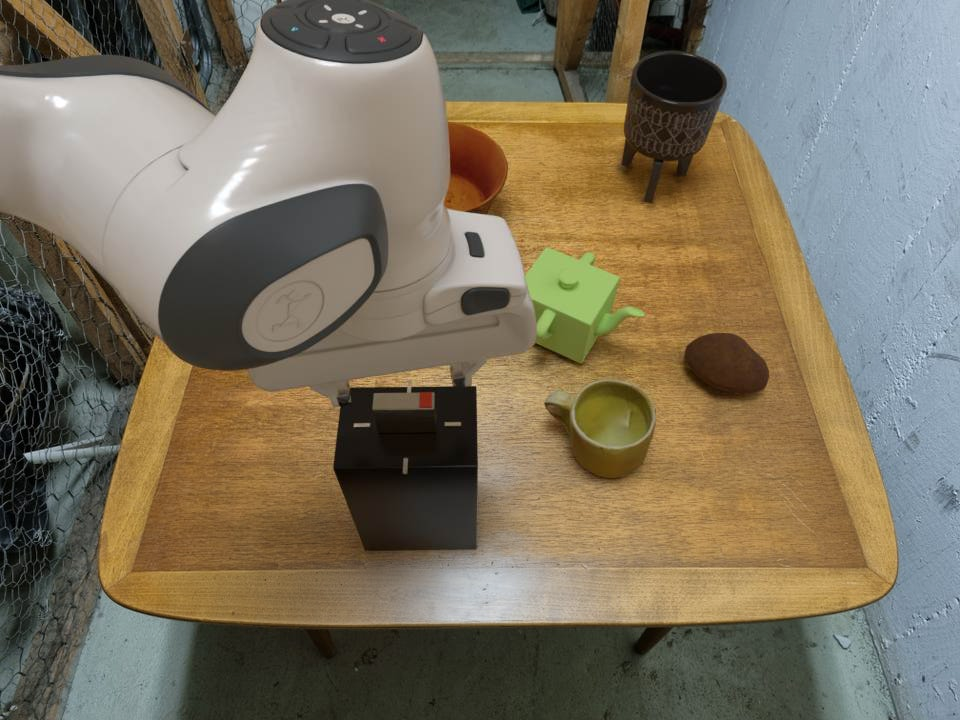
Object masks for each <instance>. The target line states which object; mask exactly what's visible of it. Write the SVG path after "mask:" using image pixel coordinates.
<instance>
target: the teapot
mask: <svg viewBox="0 0 960 720" xmlns="http://www.w3.org/2000/svg"><path fill="white" fill-rule="evenodd" d="M595 262H596V255H595V254H594V253H593V252H589V251H587V252H585V253H584V254H582V255H581V257H580V258H579V259H578V258H576V257H573V256H570V255H568V254H565V253H563V252H560V251H558V250H556V249H553V248H550V247H549V246H545V248H544V249H543V250H542V252H541V253H540V255H539V256H538V257H537V259H536V260H535V261H534V262H533V264H532V265H531V266H530V268H529V269H528V271H527V272H526V273H525V278H526V283H527V286H528V289H529V293H530V296H531V300H532V303H533V306H534V310H535V315H536V325H537V333H536V342H535V344H537V345H539V346H541V347H544V348H545V349H548V350H550V351H552V352H554V353H557V354H559V355H561V356H563V357H566V358H568V359H570V360H571V361H574V362H576V363H578V364H580V365H582V364H583V362H584V361H585V360H586V357H587V356H588V354H589V352H590V351H591V349H592V348H593V346H594V344H595V342H597V339H598V338H599V337H602V336H607V335H609V334H611V333H613V332H614V331H615V330H616V329H617V328H618V327H619V326H620V325H621V324H622V322H624V321H625V320H626V319H628V318H642V317H644V316H645V312H644V311H643V310H641V309H640V308H637V307H633V306H623V307H621V308H619V309H618V310H616V311H615V312H614V313H612V311H613V308H614V307H613V306H614V303H615V299H616V296H617V293H618V292H617V291H618V288H619V284H620V281H621V277H620V276H618V275H616V274H614V273H611V272H609V271H606V270H604V269H602V268H601V267H600V268H599V267H597V266H594V265H595Z"/></svg>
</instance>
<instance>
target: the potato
mask: <svg viewBox="0 0 960 720" xmlns="http://www.w3.org/2000/svg"><path fill="white" fill-rule="evenodd" d="M684 359H685V362H686V365H687V366H688V368H689V369H690V371H692V372H693V374H694V375H696V377H698V378H699V379H700V380H701V381H703V382H704V383H705V384H706V385H708V386H709V387H712V388H714V389H718V390H721V391H724V392H727V393H729V394H730V393H732V394H735V395H736V394H737V395H750V394H751V395H752V394H755V393H758V392H760V391H761V390H764V389H765V388H766V387H767V385H768V383H769V379H770V369H769V367H768V364H767V362H766V360H765V358H763V357H762V355H760V354H759V353H758V352H756V351H755V349H754V348H752V347H751V345H750V344H749V343H748V342H747V341H746V340H745V339H743V338H742V337H741V336H740V335H738V334H734V333H729V332H713V333H707V334H704V335H700V336H698V337H697V338H695V339H693V340H691V342H689V343H688V344H687V345H686V346H685V349H684Z"/></svg>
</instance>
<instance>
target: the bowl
mask: <svg viewBox="0 0 960 720" xmlns="http://www.w3.org/2000/svg"><path fill="white" fill-rule="evenodd" d="M448 131H449V147H450V183H449V188H448V191H447V195H446V197H445V200H444V203H445V206H446V208H447V209H451V210H457V211H462V212H469V213H476V214H484V215H489V211H490V208H491V204H492V202H493V200H494V199H495V198H496V197H497V196H498V195H499V194H500V193H501V191H502V190H503V188H504V186H505V184H506V181H507V178H508V172H509V162H508V159H507V157H506V155H505V152H504V150H503V149H502V147H501V146H500V145H499V144H498V143H497V142H496V141H495V140H494V139H493V138H491V137H490V136H489V135H488V134H486V132H485V133H484V132H483V131H482V130H479V129H476V128H474V127H472V126H469V125H466V124H462V123H458V122H453V121H448Z"/></svg>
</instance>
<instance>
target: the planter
mask: <svg viewBox="0 0 960 720" xmlns="http://www.w3.org/2000/svg"><path fill="white" fill-rule="evenodd" d="M727 87H728V80H727V76H726V74H725V73H724V71H723V70H722V69H721V68H720V67H719V66H718V65H717V64H715V63H714V62H712V61H711V60H709V59H708V58H706V57H703V56H700V55H698V54H694V53H690V52H685V51H677V50H671V51H670V50H669V51H667V50H666V51H659V52H654V53H651V54H648V55H645V56H644V57H642V58H640V59H639V60H638V61H637V62H636V63H635V65H634V66H633V68H632V72H631V77H630V84H629V90H628V96H627V103H626V110H625V116H624V122H623V135H624V138H625V140H624V146H623V151H622V157H621V163H620V164H621V166H623V167H625V168H628V167H630V166H631V165H632V164H633V161H634V158H635V156H636V154H637V153H638V154H640V155H642V156H644V157H646V158H649V159H652V165H651V169H650V173H649V178H648V181H647V182H648V183H647V186H646V190H645V195H644V199H643V202H645V203H650V204H653V203H654V198H655V195H656V193H657V192H656V191H657V188H658V184H659V181H660V177H661V174H662V171H663V167H664V164H665V162H677V164H676V165H677V166H676V174H677V175H678V177H685V176H687V174H688V172H689V169H690V166H691V163H692V161H693V158H694V156H695V155H696V154H697V153H699V152H700V151H702V148H703V147H704V146H705V143H706V141H707V139H708V137H709V134H710V131H711V129H712V126H713V124H714V122H715V119H716V115H717V113H718V111H719V108H720V106H721V103H722V101H723V98H724V95H725V93H726V91H727Z"/></svg>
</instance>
